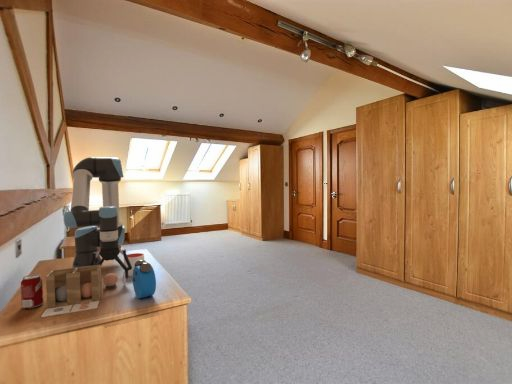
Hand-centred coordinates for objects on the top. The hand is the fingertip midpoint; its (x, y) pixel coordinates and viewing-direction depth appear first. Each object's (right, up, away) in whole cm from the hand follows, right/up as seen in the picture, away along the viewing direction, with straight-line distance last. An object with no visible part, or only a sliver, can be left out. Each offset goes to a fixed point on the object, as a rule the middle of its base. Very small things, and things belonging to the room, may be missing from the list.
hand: (110, 287), depth 133 cm
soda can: (-21, -1, -19) cm, 29 cm away
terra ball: (0, +3, 0) cm, 3 cm away
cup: (+3, 0, +20) cm, 20 cm away
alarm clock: (+20, 0, -12) cm, 23 cm away
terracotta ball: (-3, +3, -13) cm, 14 cm away
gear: (0, 0, 0) cm, 0 cm away
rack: (-7, -1, -15) cm, 16 cm away
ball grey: (-11, +3, -16) cm, 20 cm away
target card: (-4, -1, -23) cm, 23 cm away
